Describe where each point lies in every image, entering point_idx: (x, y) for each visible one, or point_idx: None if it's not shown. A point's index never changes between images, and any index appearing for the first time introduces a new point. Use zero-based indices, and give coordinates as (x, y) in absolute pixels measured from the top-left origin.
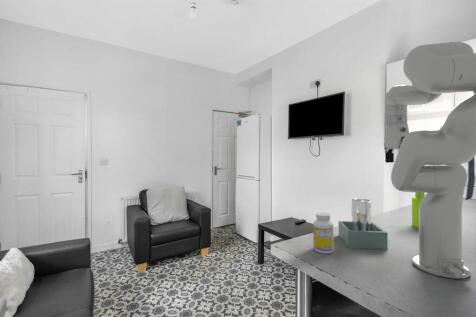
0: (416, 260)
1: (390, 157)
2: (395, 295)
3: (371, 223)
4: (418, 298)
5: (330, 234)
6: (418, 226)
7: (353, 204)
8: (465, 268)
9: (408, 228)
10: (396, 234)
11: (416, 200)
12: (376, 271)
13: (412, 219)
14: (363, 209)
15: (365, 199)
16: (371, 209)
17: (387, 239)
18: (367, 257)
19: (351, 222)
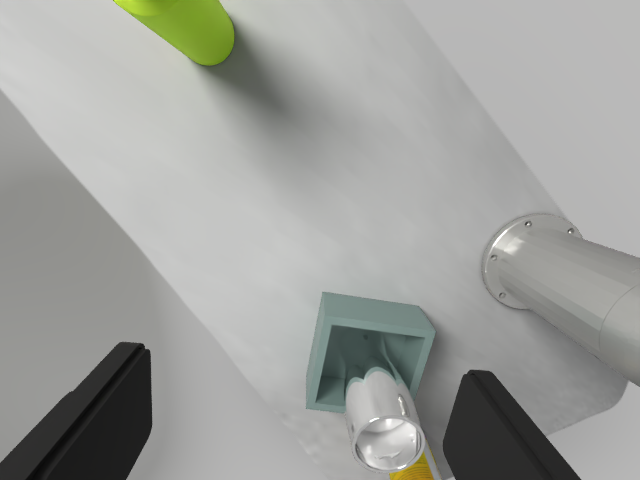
0: (508, 299)
1: (110, 452)
2: (583, 396)
3: (338, 324)
4: (600, 371)
5: (440, 474)
6: (225, 56)
7: (387, 458)
8: (566, 226)
9: (234, 108)
10: (303, 204)
11: (171, 15)
12: (511, 384)
13: (189, 56)
14: (414, 427)
15: (371, 423)
16: (408, 397)
17: (428, 320)
18: (452, 371)
19: (320, 377)
